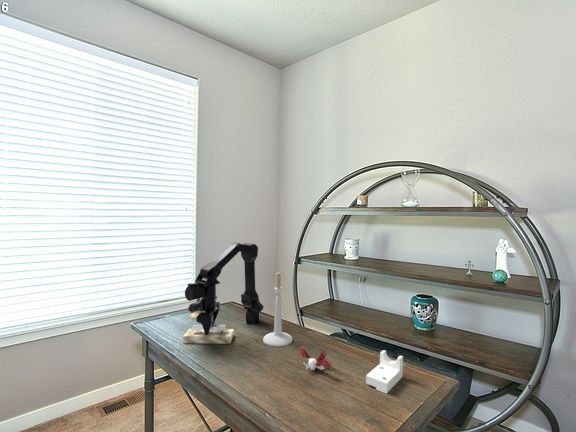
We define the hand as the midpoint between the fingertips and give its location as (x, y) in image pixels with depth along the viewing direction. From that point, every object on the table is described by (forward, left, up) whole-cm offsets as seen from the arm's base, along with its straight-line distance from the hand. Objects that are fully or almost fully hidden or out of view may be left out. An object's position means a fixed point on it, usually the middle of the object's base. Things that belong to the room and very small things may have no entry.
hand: (209, 330), depth 140 cm
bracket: (-67, +32, -4) cm, 74 cm away
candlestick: (-30, 0, -4) cm, 30 cm away
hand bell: (+13, -29, -4) cm, 32 cm away
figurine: (-45, +24, -4) cm, 51 cm away
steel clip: (0, 0, -4) cm, 4 cm away
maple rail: (0, 0, -4) cm, 4 cm away
